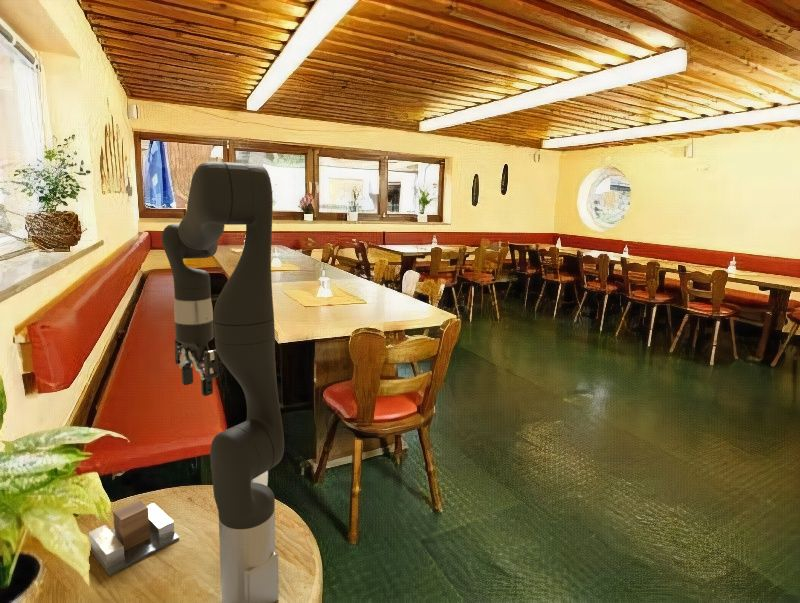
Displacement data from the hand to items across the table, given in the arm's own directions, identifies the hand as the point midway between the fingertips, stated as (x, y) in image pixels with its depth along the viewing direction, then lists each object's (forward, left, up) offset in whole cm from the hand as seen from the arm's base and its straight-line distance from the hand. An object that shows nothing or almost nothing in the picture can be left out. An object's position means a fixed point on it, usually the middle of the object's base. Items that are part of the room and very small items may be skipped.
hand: (197, 389), depth 103 cm
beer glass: (-14, -4, -28) cm, 32 cm away
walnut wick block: (-2, +16, -28) cm, 32 cm away
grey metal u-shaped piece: (-2, +16, -28) cm, 32 cm away
